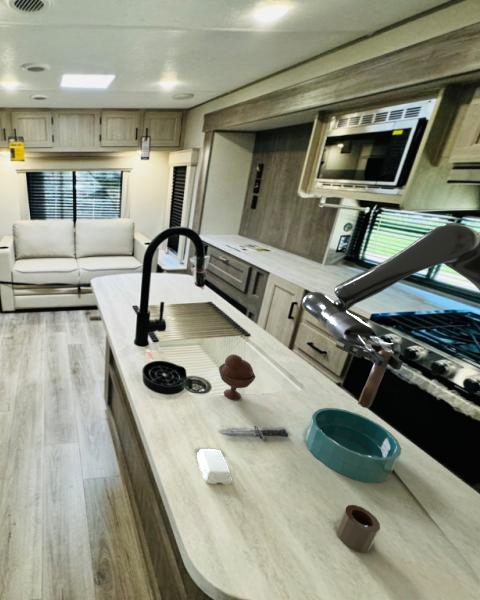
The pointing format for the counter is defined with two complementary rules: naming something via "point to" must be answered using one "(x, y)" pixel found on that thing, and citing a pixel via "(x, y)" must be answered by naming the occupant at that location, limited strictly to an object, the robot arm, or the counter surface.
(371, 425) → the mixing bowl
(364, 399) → the brown rounded rod
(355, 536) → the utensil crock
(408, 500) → the counter surface
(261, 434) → the knife
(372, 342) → the robot arm
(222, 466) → the soap
